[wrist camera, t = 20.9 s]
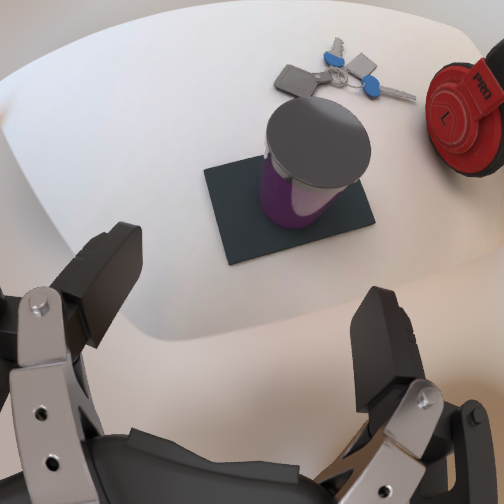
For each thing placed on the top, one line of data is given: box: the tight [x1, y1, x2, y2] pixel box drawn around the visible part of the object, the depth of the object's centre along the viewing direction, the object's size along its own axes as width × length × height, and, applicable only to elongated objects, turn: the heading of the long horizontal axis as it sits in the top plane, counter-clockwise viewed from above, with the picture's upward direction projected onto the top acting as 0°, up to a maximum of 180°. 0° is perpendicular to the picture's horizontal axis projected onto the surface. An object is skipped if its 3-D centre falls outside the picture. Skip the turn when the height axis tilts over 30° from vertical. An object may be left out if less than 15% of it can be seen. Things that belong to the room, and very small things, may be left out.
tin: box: [258, 97, 371, 229], centre depth 16 cm, size 5×5×8 cm
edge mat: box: [204, 155, 376, 265], centre depth 21 cm, size 11×7×1 cm, turn 106°
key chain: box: [274, 38, 416, 100], centre depth 23 cm, size 14×8×1 cm, turn 101°
